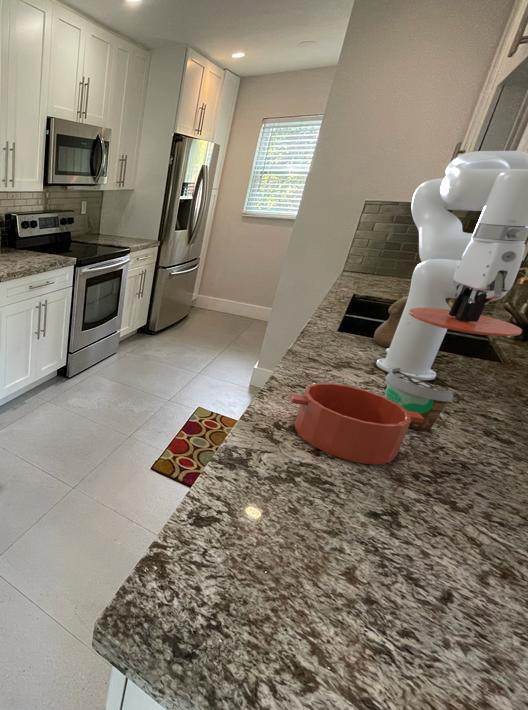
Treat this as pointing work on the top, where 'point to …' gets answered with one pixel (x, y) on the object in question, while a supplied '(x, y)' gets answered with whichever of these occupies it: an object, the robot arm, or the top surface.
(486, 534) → the top surface
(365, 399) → the pot
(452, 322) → the lid
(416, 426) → the food container
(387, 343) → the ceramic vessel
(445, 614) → the top surface
